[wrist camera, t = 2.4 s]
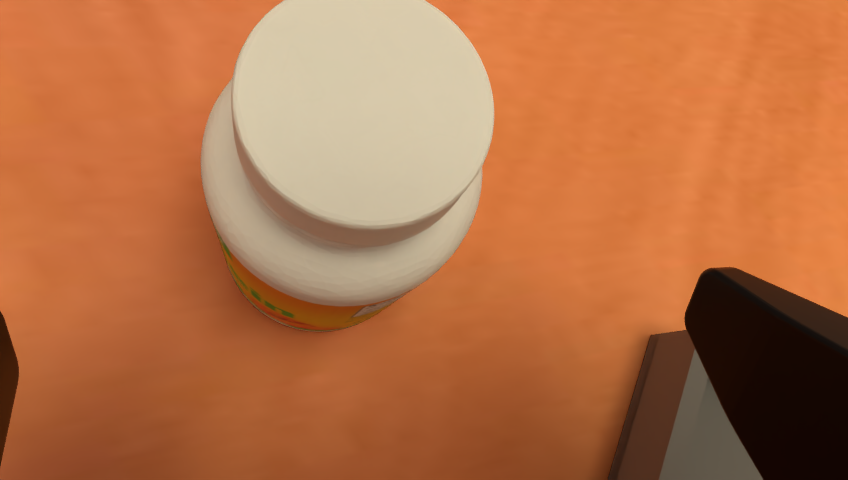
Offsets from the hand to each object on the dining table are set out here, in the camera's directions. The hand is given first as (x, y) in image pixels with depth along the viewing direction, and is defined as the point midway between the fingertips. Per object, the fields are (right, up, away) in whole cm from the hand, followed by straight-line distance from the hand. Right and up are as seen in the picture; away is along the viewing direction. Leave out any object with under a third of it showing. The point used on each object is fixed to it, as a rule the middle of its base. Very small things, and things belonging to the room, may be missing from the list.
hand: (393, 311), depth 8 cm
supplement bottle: (-3, +1, +11) cm, 11 cm away
